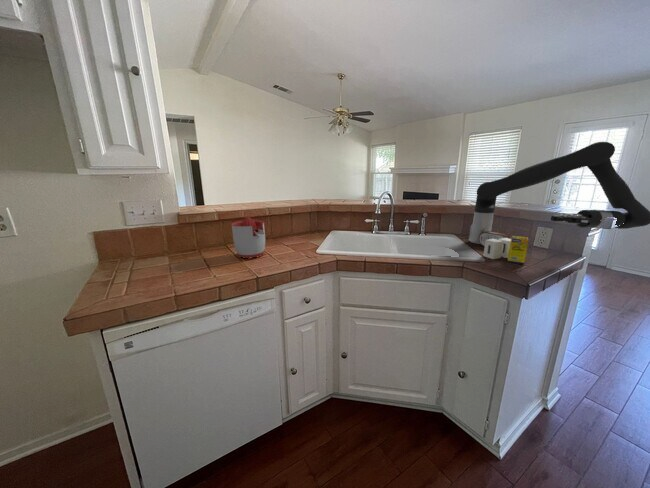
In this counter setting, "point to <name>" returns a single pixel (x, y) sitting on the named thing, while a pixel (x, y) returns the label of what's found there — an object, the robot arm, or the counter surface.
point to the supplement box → (517, 249)
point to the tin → (491, 236)
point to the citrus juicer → (249, 237)
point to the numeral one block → (493, 248)
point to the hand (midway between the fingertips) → (552, 218)
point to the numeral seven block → (505, 247)
